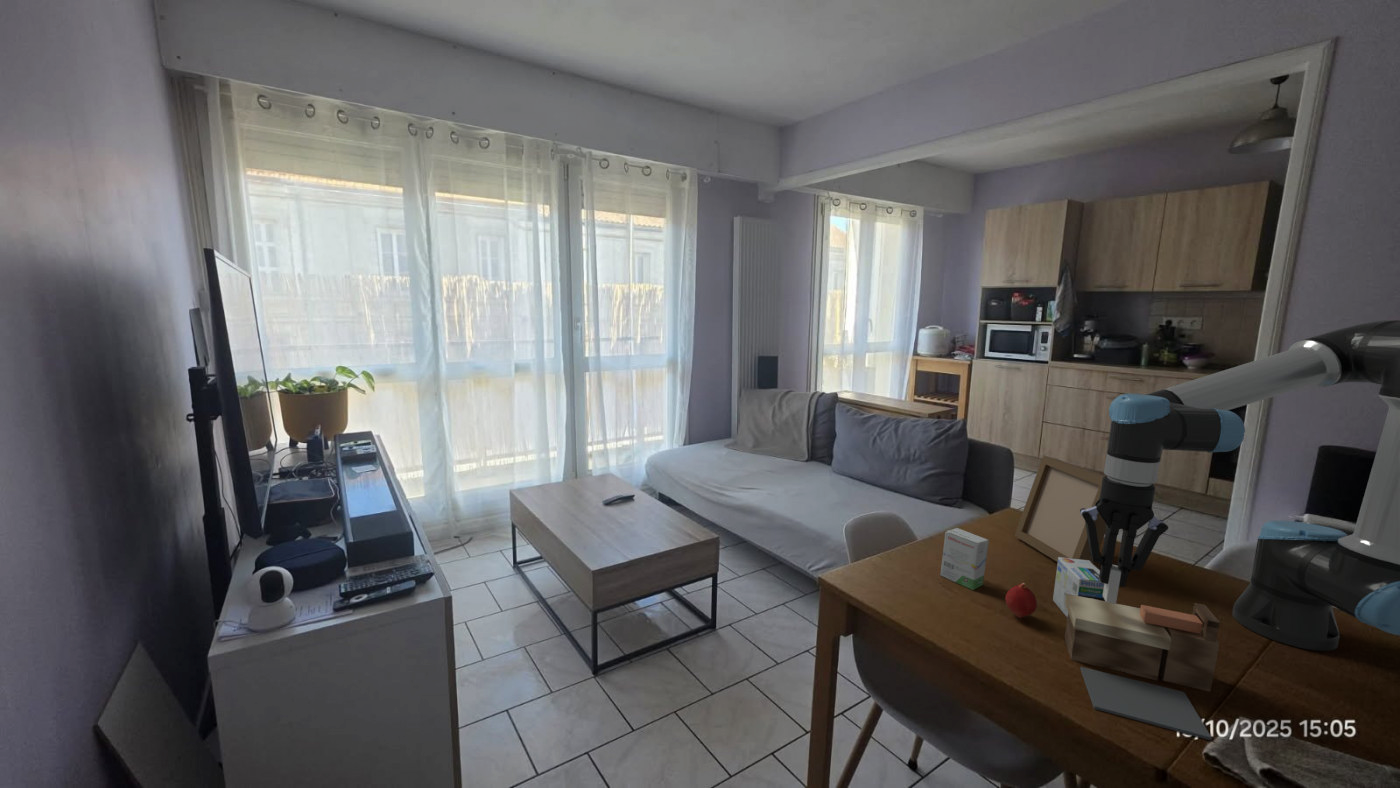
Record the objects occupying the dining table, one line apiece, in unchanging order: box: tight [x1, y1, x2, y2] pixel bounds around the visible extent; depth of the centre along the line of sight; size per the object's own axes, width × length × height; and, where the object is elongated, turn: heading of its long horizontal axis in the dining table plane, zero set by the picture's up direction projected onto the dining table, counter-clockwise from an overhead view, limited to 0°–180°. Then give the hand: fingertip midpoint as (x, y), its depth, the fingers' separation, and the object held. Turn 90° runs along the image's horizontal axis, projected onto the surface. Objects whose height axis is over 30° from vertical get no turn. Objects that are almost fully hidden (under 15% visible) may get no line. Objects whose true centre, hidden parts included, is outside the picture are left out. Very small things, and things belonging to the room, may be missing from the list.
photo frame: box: [1014, 455, 1106, 565], centre depth 143 cm, size 15×22×25 cm
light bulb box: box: [1052, 557, 1105, 618], centre depth 116 cm, size 11×7×11 cm, turn 168°
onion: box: [1004, 582, 1038, 619], centre depth 115 cm, size 6×6×8 cm
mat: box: [1080, 666, 1213, 741], centre depth 91 cm, size 15×11×1 cm
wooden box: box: [1064, 602, 1221, 692], centre depth 100 cm, size 20×7×13 cm, turn 65°
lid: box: [1065, 594, 1171, 650], centre depth 101 cm, size 14×10×2 cm
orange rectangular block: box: [1139, 604, 1203, 634], centre depth 97 cm, size 8×3×2 cm, turn 65°
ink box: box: [939, 527, 990, 591], centre depth 130 cm, size 9×5×12 cm, turn 34°
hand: (1109, 599), depth 101 cm, fingers closed
